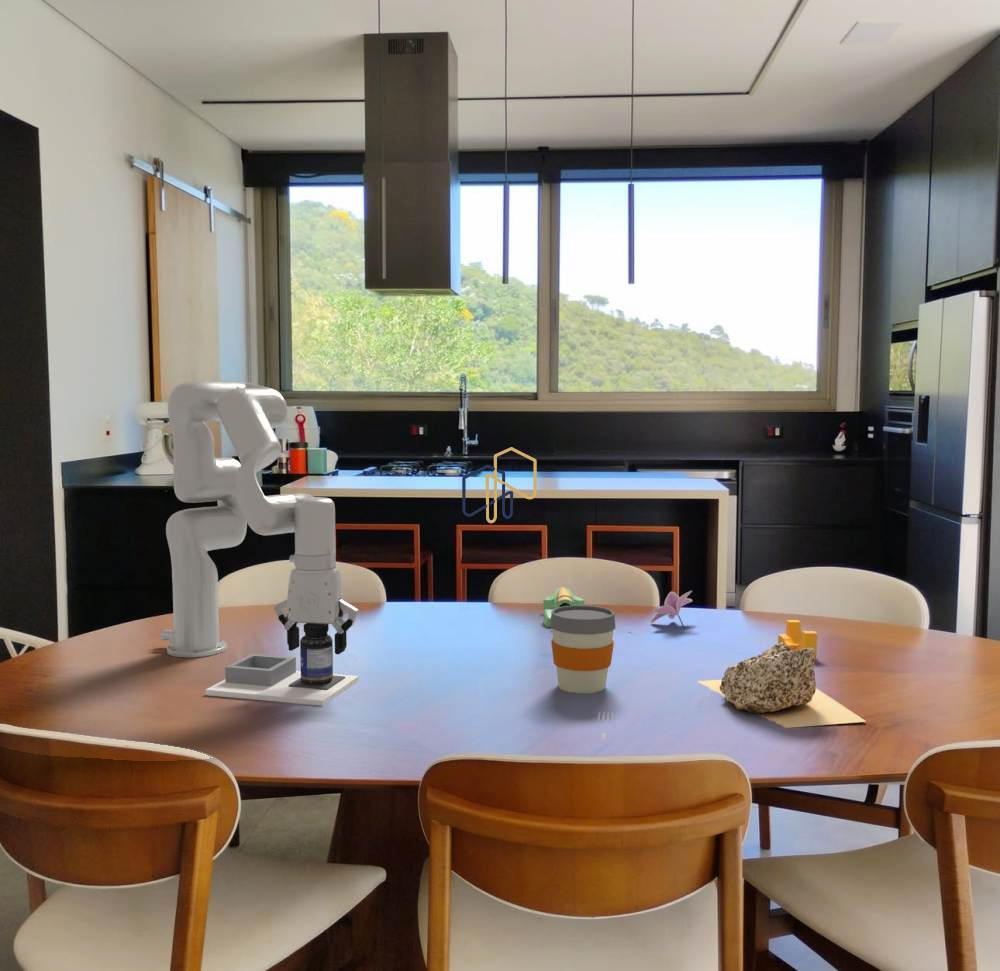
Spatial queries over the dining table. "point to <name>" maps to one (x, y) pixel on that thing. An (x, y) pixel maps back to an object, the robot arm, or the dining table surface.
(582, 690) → the reusable coffee cup
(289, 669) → the socket board
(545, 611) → the toy spaceship
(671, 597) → the lily
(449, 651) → the dining table surface
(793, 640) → the orange stepped block
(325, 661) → the pill bottle
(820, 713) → the rock
